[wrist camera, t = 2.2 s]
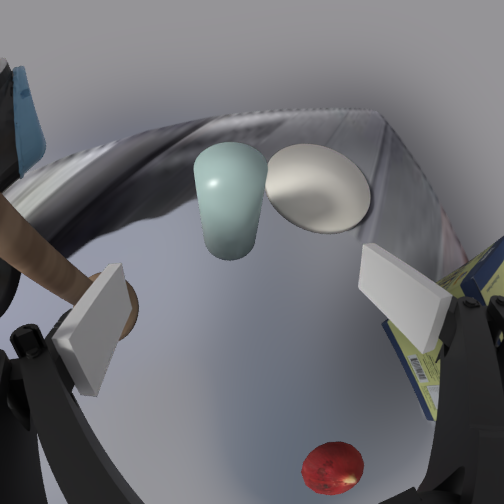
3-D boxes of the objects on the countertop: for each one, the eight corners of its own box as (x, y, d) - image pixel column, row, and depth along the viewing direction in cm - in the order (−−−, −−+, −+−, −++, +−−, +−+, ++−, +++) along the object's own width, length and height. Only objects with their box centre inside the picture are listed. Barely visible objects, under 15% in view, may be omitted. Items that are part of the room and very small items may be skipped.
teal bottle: (202, 260, 31) (190, 195, 20) (205, 215, 33) (197, 142, 22) (256, 260, 31) (270, 196, 20) (254, 215, 34) (265, 142, 23)
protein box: (428, 284, 32) (508, 229, 18) (471, 373, 26) (555, 352, 12) (378, 323, 29) (471, 274, 15) (426, 422, 24) (523, 424, 9)
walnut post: (75, 339, 25) (-62, 275, 7) (83, 274, 29) (-21, 167, 11) (136, 346, 26) (3, 284, 8) (141, 276, 29) (54, 146, 11)
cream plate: (267, 233, 33) (269, 228, 32) (261, 146, 39) (261, 140, 38) (378, 235, 34) (382, 231, 33) (353, 154, 40) (355, 149, 39)
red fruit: (303, 488, 20) (326, 518, 13) (287, 448, 22) (307, 472, 15) (351, 466, 21) (387, 487, 14) (338, 427, 24) (373, 440, 16)
